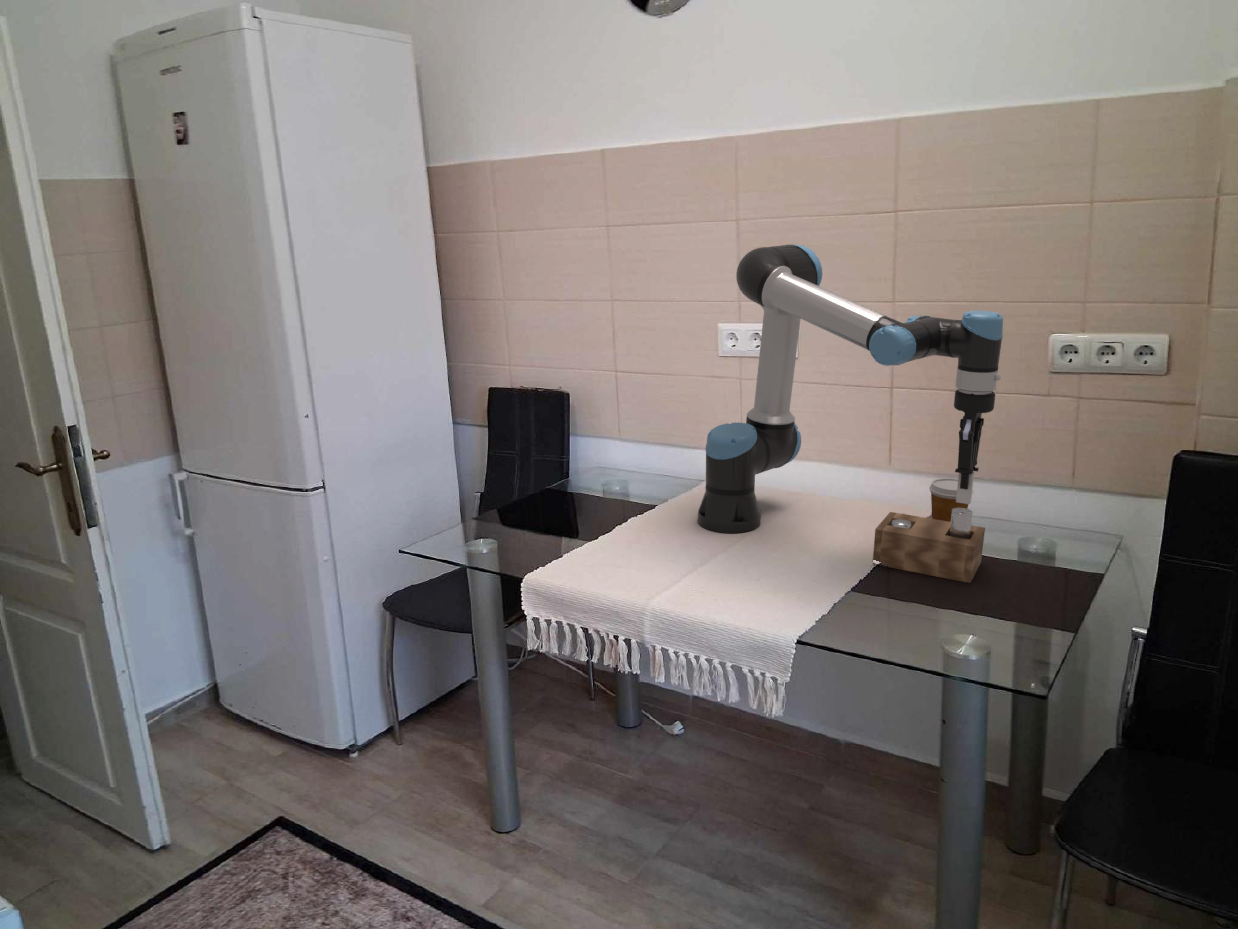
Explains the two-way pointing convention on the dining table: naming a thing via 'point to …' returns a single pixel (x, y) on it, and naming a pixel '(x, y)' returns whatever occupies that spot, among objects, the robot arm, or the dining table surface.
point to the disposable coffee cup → (944, 498)
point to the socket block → (928, 548)
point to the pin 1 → (901, 523)
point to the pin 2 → (961, 523)
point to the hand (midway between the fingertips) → (963, 502)
